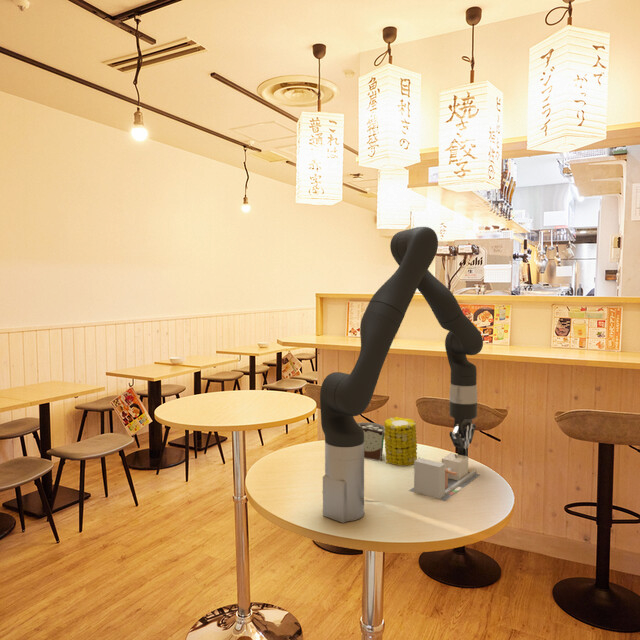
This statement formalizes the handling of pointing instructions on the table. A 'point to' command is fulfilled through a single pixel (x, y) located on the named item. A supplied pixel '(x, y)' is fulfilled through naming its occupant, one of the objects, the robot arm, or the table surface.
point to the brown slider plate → (447, 476)
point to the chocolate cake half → (373, 440)
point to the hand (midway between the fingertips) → (462, 460)
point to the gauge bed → (437, 480)
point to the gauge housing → (456, 465)
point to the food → (400, 441)
